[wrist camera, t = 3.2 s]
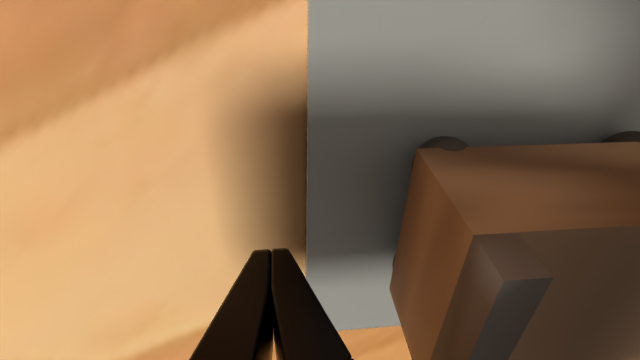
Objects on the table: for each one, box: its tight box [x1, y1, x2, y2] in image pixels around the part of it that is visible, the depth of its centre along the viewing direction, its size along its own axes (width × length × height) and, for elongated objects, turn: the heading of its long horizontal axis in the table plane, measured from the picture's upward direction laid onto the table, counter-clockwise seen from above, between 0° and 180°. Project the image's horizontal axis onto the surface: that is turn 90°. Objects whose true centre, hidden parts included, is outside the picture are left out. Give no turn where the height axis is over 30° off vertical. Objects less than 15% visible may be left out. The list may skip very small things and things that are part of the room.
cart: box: [389, 131, 640, 360], centre depth 9 cm, size 7×5×5 cm
